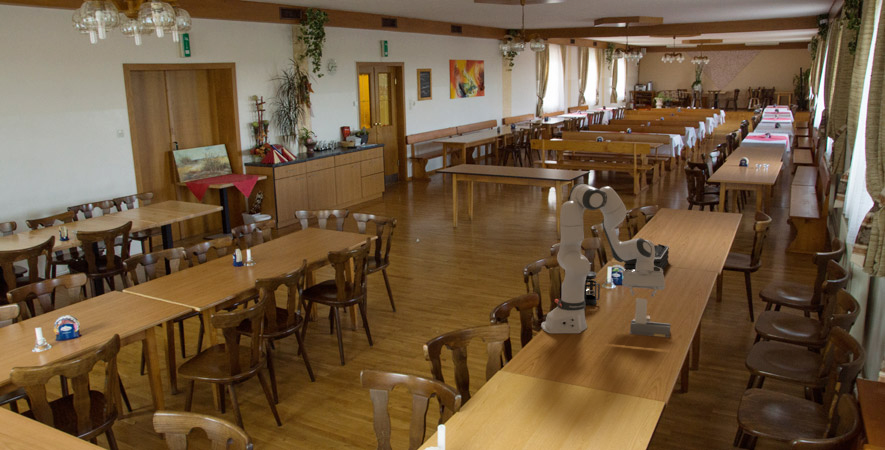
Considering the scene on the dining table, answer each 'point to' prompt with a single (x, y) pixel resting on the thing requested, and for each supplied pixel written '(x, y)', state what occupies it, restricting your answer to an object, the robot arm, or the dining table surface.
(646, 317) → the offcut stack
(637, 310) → the plank
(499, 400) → the dining table surface
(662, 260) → the container
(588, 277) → the french press
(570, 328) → the robot arm
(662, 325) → the rack
